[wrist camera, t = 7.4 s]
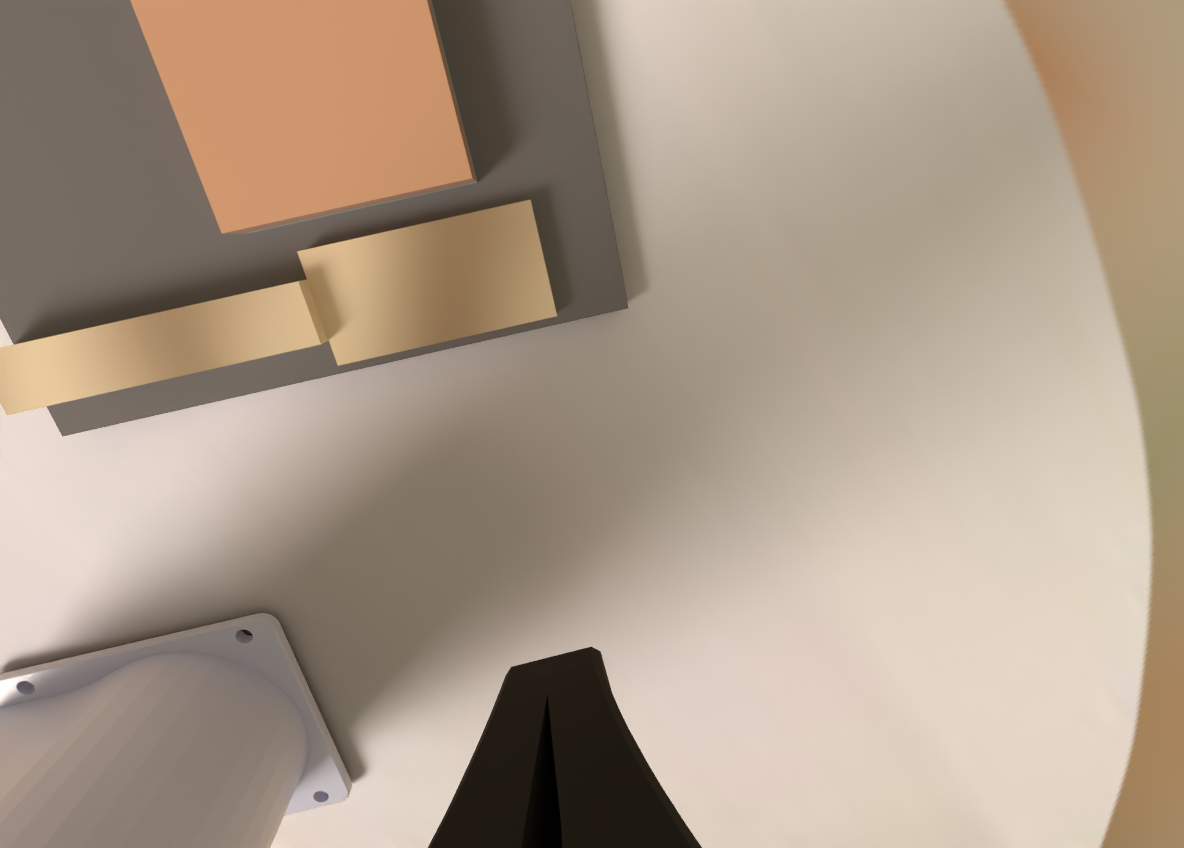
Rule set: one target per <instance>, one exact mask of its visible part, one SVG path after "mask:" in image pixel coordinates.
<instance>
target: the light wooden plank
mask: <svg viewBox="0 0 1184 848" xmlns="http://www.w3.org/2000/svg"><path fill="white" fill-rule="evenodd" d="M297 253H298V256H299V258H300V261H301V264H302V267H303V270H304V272H305V275H306V278H307V280H302V281H297V282H293V283H288V284H284V285H279V286H275V287H270V288H266V289H261V290H257V291H252V292H248V293H243V294H239V295H234V296H230V297H225V298H221V299H216V300H212V301H207V302H203V303H198V304H194V305H190V306H185V307H181V308H176V309H172V310H167V311H163V312H158V313H154V314H149V315H145V316H140V317H136V318H131V319H127V320H122V321H118V322H113V323H109V324H104V325H100V326H95V327H91V328H86V329H82V330H77V331H73V332H69V333H64V334H60V335H55V336H51V337H46V338H42V339H37V340H33V341H28V342H24V343H19V344H15V345H10V346H6V347H1V348H0V403H1V405H2V406H3V408H4V410H5V412H6V414H7V415H10V414H15V413H19V412H24V411H28V410H32V409H37V408H41V407H46V406H50V405H55V404H59V403H63V402H68V401H72V400H77V399H81V398H86V397H90V396H95V395H99V394H103V393H108V392H112V391H117V390H121V389H126V388H130V387H134V386H139V385H143V384H148V383H152V382H157V381H161V380H165V379H170V378H174V377H179V376H183V375H188V374H192V373H197V372H201V371H205V370H210V369H214V368H219V367H223V366H228V365H232V364H236V363H241V362H245V361H250V360H254V359H259V358H263V357H267V356H272V355H276V354H281V353H285V352H290V351H294V350H299V349H303V348H307V347H312V346H316V345H321V344H323V343H325V342H327V341H328V340H329V342H330V345H331V348H332V351H333V354H334V357H335V359H336V362H337V365H338V366H339V365H344V364H348V363H352V362H357V361H361V360H366V359H370V358H374V357H379V356H383V355H388V354H392V353H397V352H401V351H405V350H410V349H414V348H419V347H423V346H427V345H432V344H436V343H441V342H445V341H450V340H454V339H458V338H463V337H467V336H472V335H476V334H481V333H485V332H489V331H494V330H498V329H503V328H507V327H511V326H516V325H520V324H525V323H529V322H534V321H538V320H542V319H547V318H551V317H556V316H557V313H556V309H555V304H554V300H553V296H552V291H551V287H550V283H549V278H548V274H547V269H546V265H545V261H544V256H543V252H542V248H541V243H540V239H539V234H538V230H537V226H536V221H535V217H534V213H533V208H532V204H531V200H526V201H522V202H517V203H513V204H508V205H504V206H499V207H495V208H490V209H486V210H481V211H477V212H472V213H468V214H463V215H459V216H454V217H450V218H445V219H441V220H436V221H432V222H427V223H423V224H418V225H414V226H409V227H405V228H400V229H396V230H391V231H387V232H382V233H378V234H373V235H369V236H364V237H360V238H355V239H351V240H346V241H342V242H337V243H333V244H328V245H324V246H319V247H315V248H310V249H306V250H301V251H297Z"/></svg>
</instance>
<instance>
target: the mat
mask: <svg viewBox="0 0 1184 848" xmlns="http://www.w3.org/2000/svg"><path fill="white" fill-rule="evenodd" d="M432 4H433V8H434V12H435V16H436V20H437V24H438V28H439V32H440V36H441V40H442V44H443V48H444V51H445V55H446V59H447V63H448V67H449V71H450V75H451V79H452V83H453V87H454V91H455V95H456V99H457V103H458V107H459V111H460V115H461V119H462V122H463V126H464V130H465V134H466V138H467V142H468V146H469V150H470V154H471V158H472V162H473V166H474V170H475V174H476V178H477V182H478V183H475V184H470V185H465V186H461V187H456V188H452V189H447V190H443V191H438V192H434V193H429V194H425V195H420V196H416V197H411V198H407V199H402V200H398V201H393V202H389V203H384V204H380V205H375V206H371V207H366V208H361V209H357V210H352V211H348V212H343V213H339V214H334V215H330V216H325V217H321V218H316V219H312V220H307V221H303V222H298V223H294V224H289V225H285V226H280V227H276V228H271V229H266V230H262V231H257V232H253V233H234V234H222V233H221V230H220V228H219V225H218V223H217V220H216V218H215V215H214V213H213V210H212V208H211V205H210V202H209V200H208V197H207V195H206V192H205V190H204V187H203V185H202V182H201V179H200V177H199V174H198V172H197V169H196V167H195V164H194V162H193V159H192V157H191V154H190V151H189V149H188V146H187V144H186V141H185V139H184V136H183V134H182V131H181V128H180V126H179V123H178V121H177V118H176V116H175V113H174V111H173V108H172V106H171V103H170V100H169V98H168V95H167V93H166V90H165V88H164V85H163V83H162V80H161V77H160V75H159V72H158V70H157V67H156V65H155V62H154V60H153V57H152V54H151V52H150V49H149V47H148V44H147V42H146V39H145V37H144V34H143V32H142V29H141V26H140V24H139V21H138V19H137V16H136V14H135V11H134V9H133V6H132V3H131V1H130V0H0V319H1V321H2V323H3V325H4V327H5V329H6V330H7V332H8V334H9V336H10V338H11V340H12V342H13V344H14V345H15V344H19V343H24V342H28V341H33V340H37V339H42V338H46V337H51V336H55V335H60V334H64V333H69V332H73V331H77V330H82V329H86V328H91V327H95V326H100V325H104V324H109V323H113V322H118V321H122V320H127V319H131V318H136V317H140V316H145V315H149V314H154V313H158V312H163V311H167V310H172V309H176V308H181V307H185V306H190V305H194V304H198V303H203V302H207V301H212V300H216V299H221V298H225V297H230V296H234V295H239V294H243V293H248V292H252V291H257V290H261V289H266V288H270V287H275V286H279V285H284V284H288V283H293V282H297V281H302V280H307V278H306V275H305V272H304V270H303V267H302V264H301V261H300V258H299V256H298V253H297V251H301V250H306V249H310V248H315V247H319V246H324V245H328V244H333V243H337V242H342V241H346V240H351V239H355V238H360V237H364V236H369V235H373V234H378V233H382V232H387V231H391V230H396V229H400V228H405V227H409V226H414V225H418V224H423V223H427V222H432V221H436V220H441V219H445V218H450V217H454V216H459V215H463V214H468V213H472V212H477V211H481V210H486V209H490V208H495V207H499V206H504V205H508V204H513V203H517V202H522V201H526V200H531V204H532V208H533V213H534V217H535V221H536V226H537V230H538V234H539V239H540V243H541V248H542V252H543V256H544V261H545V265H546V269H547V274H548V278H549V283H550V287H551V291H552V296H553V300H554V304H555V309H556V313H557V316H556V317H551V318H547V319H542V320H538V321H534V322H529V323H525V324H520V325H516V326H511V327H507V328H503V329H498V330H494V331H489V332H485V333H481V334H476V335H472V336H467V337H463V338H458V339H454V340H450V341H445V342H441V343H436V344H432V345H427V346H423V347H419V348H414V349H410V350H405V351H401V352H397V353H392V354H388V355H383V356H379V357H374V358H370V359H366V360H361V361H357V362H352V363H348V364H344V365H339V366H338V365H337V362H336V359H335V357H334V354H333V351H332V348H331V345H330V342H329V340H328V341H327V342H325V343H323V344H321V345H316V346H312V347H307V348H303V349H299V350H294V351H290V352H285V353H281V354H276V355H272V356H267V357H263V358H259V359H254V360H250V361H245V362H241V363H236V364H232V365H228V366H223V367H219V368H214V369H210V370H205V371H201V372H197V373H192V374H188V375H183V376H179V377H174V378H170V379H165V380H161V381H157V382H152V383H148V384H143V385H139V386H134V387H130V388H126V389H121V390H117V391H112V392H108V393H103V394H99V395H95V396H90V397H86V398H81V399H77V400H72V401H68V402H63V403H59V404H55V405H50V406H47V408H48V410H49V412H50V414H51V415H52V417H53V419H54V421H55V423H56V425H57V427H58V429H59V431H60V432H61V434H62V436H66V435H71V434H75V433H79V432H84V431H88V430H93V429H97V428H101V427H106V426H110V425H115V424H119V423H123V422H128V421H132V420H137V419H141V418H146V417H150V416H154V415H159V414H163V413H168V412H172V411H176V410H181V409H185V408H190V407H194V406H198V405H203V404H207V403H212V402H216V401H221V400H225V399H229V398H234V397H238V396H243V395H247V394H251V393H256V392H260V391H265V390H269V389H273V388H278V387H282V386H287V385H291V384H296V383H300V382H304V381H309V380H313V379H318V378H322V377H326V376H331V375H335V374H340V373H344V372H348V371H353V370H357V369H362V368H366V367H371V366H375V365H379V364H384V363H388V362H393V361H397V360H401V359H406V358H410V357H415V356H419V355H423V354H428V353H432V352H437V351H441V350H445V349H450V348H454V347H459V346H463V345H468V344H472V343H476V342H481V341H485V340H490V339H494V338H498V337H503V336H507V335H512V334H516V333H520V332H525V331H529V330H534V329H538V328H543V327H547V326H551V325H556V324H560V323H565V322H569V321H573V320H578V319H582V318H587V317H591V316H595V315H600V314H604V313H609V312H613V311H618V310H622V309H626V308H628V303H627V298H626V293H625V288H624V282H623V277H622V272H621V267H620V261H619V256H618V251H617V245H616V240H615V235H614V230H613V224H612V219H611V214H610V209H609V203H608V198H607V193H606V188H605V182H604V177H603V172H602V166H601V161H600V156H599V151H598V145H597V140H596V135H595V130H594V124H593V119H592V114H591V109H590V103H589V98H588V93H587V88H586V82H585V77H584V72H583V66H582V61H581V56H580V51H579V45H578V40H577V35H576V30H575V24H574V19H573V14H572V9H571V3H570V0H432Z"/></svg>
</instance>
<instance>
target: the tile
mask: <svg viewBox="0 0 1184 848" xmlns="http://www.w3.org/2000/svg"><path fill="white" fill-rule="evenodd" d="M130 1H131V3H132V6H133V9H134V11H135V14H136V16H137V19H138V21H139V24H140V26H141V29H142V32H143V34H144V37H145V39H146V42H147V44H148V47H149V49H150V52H151V54H152V57H153V60H154V62H155V65H156V67H157V70H158V72H159V75H160V77H161V80H162V83H163V85H164V88H165V90H166V93H167V95H168V98H169V100H170V103H171V106H172V108H173V111H174V113H175V116H176V118H177V121H178V123H179V126H180V128H181V131H182V134H183V136H184V139H185V141H186V144H187V146H188V149H189V151H190V154H191V157H192V159H193V162H194V164H195V167H196V169H197V172H198V174H199V177H200V179H201V182H202V185H203V187H204V190H205V192H206V195H207V197H208V200H209V202H210V205H211V208H212V210H213V213H214V215H215V218H216V220H217V223H218V225H219V228H220V230H221V233H222V234H234V233H253V232H257V231H262V230H266V229H271V228H276V227H280V226H285V225H289V224H294V223H298V222H303V221H307V220H312V219H316V218H321V217H325V216H330V215H334V214H339V213H343V212H348V211H352V210H357V209H361V208H366V207H371V206H375V205H380V204H384V203H389V202H393V201H398V200H402V199H407V198H411V197H416V196H420V195H425V194H429V193H434V192H438V191H443V190H447V189H452V188H456V187H461V186H465V185H470V184H475V183H478V182H477V178H476V174H475V170H474V166H473V162H472V158H471V154H470V150H469V146H468V142H467V138H466V134H465V130H464V126H463V122H462V119H461V115H460V111H459V107H458V103H457V99H456V95H455V91H454V87H453V83H452V79H451V75H450V71H449V67H448V63H447V59H446V55H445V51H444V48H443V44H442V40H441V36H440V32H439V28H438V24H437V20H436V16H435V12H434V8H433V4H432V0H130Z"/></svg>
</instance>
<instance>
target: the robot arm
mask: <svg viewBox="0 0 1184 848" xmlns="http://www.w3.org/2000/svg"><path fill="white" fill-rule="evenodd" d="M242 630H248V631H250V632H251V634H252V635H246V634H244V633H243V632H242ZM29 682H30V683H32V684H33V685H32V684H30V683H29ZM351 788H352V782H351V779H350V777H349V775H348V773H347V771H346V768H345V766H344V764H343V762H342V760H341V757H340V755H339V753H338V751H337V748H336V746H335V744H334V742H333V740H332V737H331V735H330V733H329V731H328V729H327V726H326V724H325V722H324V720H323V718H322V715H321V713H320V711H319V709H318V707H317V704H316V702H315V700H314V698H313V696H312V693H311V691H310V689H309V687H308V684H307V682H306V680H305V678H304V676H303V673H302V671H301V669H300V667H299V665H298V662H297V660H296V658H295V656H294V654H293V651H292V649H291V647H290V645H289V643H288V640H287V638H286V636H285V634H284V632H283V629H282V627H281V625H280V623H279V621H278V620H277V619H276V618H275V617H274V616H272V615H271V614H267V613H258V614H253V615H249V616H245V617H240V618H236V619H232V620H228V621H223V622H219V623H215V624H211V625H206V626H202V627H198V628H193V629H189V630H185V631H181V632H176V633H172V634H168V635H164V636H159V637H155V638H151V639H147V640H142V641H138V642H134V643H129V644H125V645H121V646H117V647H112V648H108V649H104V650H100V651H95V652H91V653H87V654H83V655H78V656H74V657H70V658H65V659H61V660H57V661H53V662H48V663H44V664H40V665H36V666H31V667H27V668H23V669H19V670H14V671H10V672H6V673H1V674H0V848H270V847H271V844H272V842H273V840H274V837H275V835H276V833H277V830H278V828H279V826H280V824H281V821H282V819H283V817H284V816H285V815H289V814H293V813H298V812H302V811H306V810H310V809H314V808H318V807H322V806H326V805H331V804H335V803H339V802H342V801H344V800H346V799H347V798H348V796H349V794H350V791H351ZM321 791H324V792H321ZM428 848H702V847H701V846H700V844H699V843H698V841H697V840H696V839H695V837H694V836H693V834H692V833H691V831H690V830H689V828H688V827H687V825H686V824H685V822H684V821H683V819H682V818H681V816H680V815H679V813H678V812H677V810H676V808H675V807H674V805H673V804H672V802H671V801H670V799H669V798H668V796H667V794H666V793H665V791H664V790H663V788H662V787H661V785H660V783H659V782H658V780H657V778H656V777H655V775H654V773H653V772H652V770H651V768H650V767H649V765H648V763H647V761H646V760H645V758H644V756H643V754H642V752H641V750H640V749H639V747H638V745H637V743H636V741H635V740H634V738H633V736H632V734H631V732H630V730H629V729H628V727H627V725H626V723H625V721H624V719H623V717H622V715H621V712H620V710H619V708H618V706H617V703H616V701H615V699H614V697H613V694H612V691H611V688H610V684H609V680H608V677H607V673H606V670H605V666H604V663H603V659H602V655H601V652H600V651H598V650H597V649H595V648H593V647H589V648H585V649H581V650H577V651H573V652H569V653H565V654H561V655H557V656H553V657H549V658H545V659H541V660H537V661H533V662H529V663H525V664H521V665H517V666H513V667H511V668H510V670H509V671H508V673H507V674H506V676H505V679H504V682H503V684H502V687H501V690H500V692H499V695H498V697H497V700H496V702H495V705H494V707H493V710H492V712H491V715H490V717H489V719H488V722H487V724H486V726H485V729H484V731H483V733H482V736H481V738H480V740H479V743H478V745H477V747H476V750H475V752H474V754H473V756H472V758H471V761H470V763H469V765H468V767H467V769H466V771H465V774H464V776H463V778H462V780H461V782H460V784H459V787H458V789H457V791H456V793H455V795H454V797H453V799H452V802H451V804H450V806H449V808H448V810H447V812H446V814H445V816H444V818H443V820H442V822H441V824H440V825H439V827H438V829H437V831H436V833H435V835H434V837H433V839H432V841H431V843H430V845H429V847H428Z"/></svg>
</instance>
